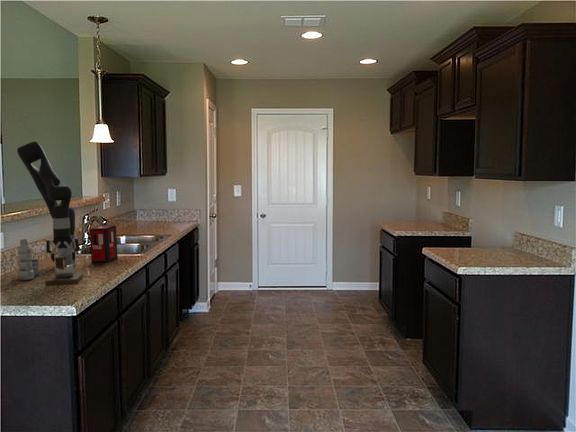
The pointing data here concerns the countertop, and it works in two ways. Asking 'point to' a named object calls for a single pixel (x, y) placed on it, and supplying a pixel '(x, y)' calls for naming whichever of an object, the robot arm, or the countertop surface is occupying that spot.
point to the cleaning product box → (103, 244)
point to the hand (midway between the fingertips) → (63, 260)
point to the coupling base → (64, 279)
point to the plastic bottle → (25, 260)
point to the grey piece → (63, 266)
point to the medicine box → (35, 267)
